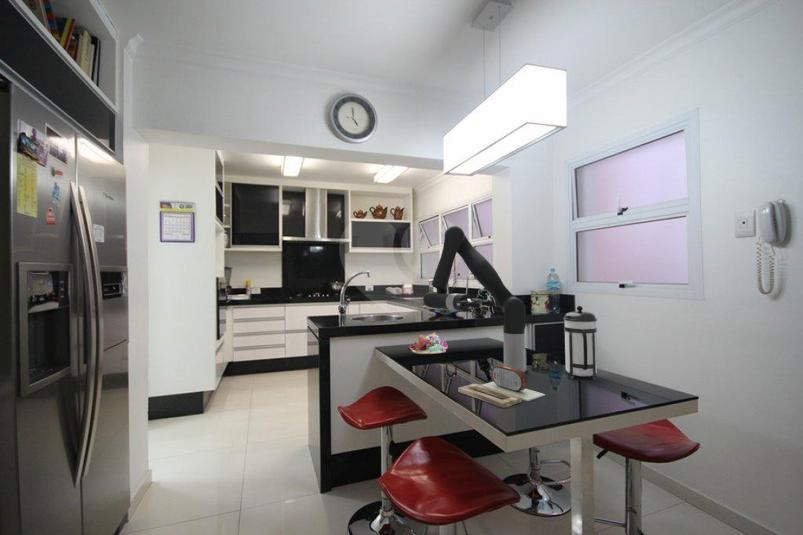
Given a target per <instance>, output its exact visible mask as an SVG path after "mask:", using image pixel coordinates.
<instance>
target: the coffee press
mask: <svg viewBox="0 0 803 535" xmlns="http://www.w3.org/2000/svg"><path fill="white" fill-rule="evenodd" d="M576 310H577V311H569V312H567V313H565V315H564V317H563V321H564V327H563V331H564V346H565V347H564V355H565V357H564V358H565V370H564V371H565V373H566V374H568V376H567V378H568V379H571V380H573V379H574V377H576V376H577V377H590V378H591V379H592V380H593V381H595V382H596V381H599V376H598V375H597V373H598V364H597V363H598V359H597V358H598V355H597V331H598V330H597V329H598V328H597V321H598V318H596V315H595V314H594V313H592V312H588V311H583V307H582V306H581V305H578V306H577V307H576Z"/></svg>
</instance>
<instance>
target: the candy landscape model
mask: <svg viewBox="0 0 803 535" xmlns="http://www.w3.org/2000/svg"><path fill="white" fill-rule="evenodd" d="M417 339H418V340H415V341H414V343H413V344H410V345H409V346H408V348H407V349H408V350H411V352H412V353H414V354H419V355H429V354H430V355H433V354H441V353H442V354H443V353H446V352H447V349H449V346H448V343H447V340H446V339H447V337H444V336H442V337H439V334H437V333H436V332H432V333H431V334H428V335H422V334H419V335H418V336H417Z"/></svg>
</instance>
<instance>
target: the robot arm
mask: <svg viewBox="0 0 803 535" xmlns="http://www.w3.org/2000/svg"><path fill="white" fill-rule="evenodd" d="M457 254H458V255H459V256H460V257H461V259H462V260H463V261H464V264H465V265H466V266H467V269H468V270H469V271H470V273H471V274H472V275H473V276H474V278H475V280H477V281H478V282H479V284H480V285H482V287H483V288H484V289H485V290H486V291H487V292H489V294H491V296H492V297H493V298H494V300H495V301H496V302H497V304H498V306H499V307H500V309H501V311H502V313H503V314H504V316H503V317H504V320H503V321H504V324H503V327H502V328H503V329H502V330H503V333H502V334H503V336H502V337H503V365H506V366H510V367H514V368H518V369H520V370H521V371H522V372H523V373H525V372H526V371H527V349H526V342H525V340H526V338H525V332H526V331H525V329H526V317H527V316H526V314H527V312H526V305H525V303H524V301H522V299H520V298H517V297H516V296H515V295H514V294H513V293H512V292H511V291H510V290H509V289H508V288H507V287H506V285H505V284H504V283H503V281H502V278H501V277H500V275H499V273H498V272H497V271H496V269H495V268H494V267H493V265H492V264H491V263H490V262H489V260H487V258H485V256H483V255H482V254H481V253H480V252H479V251H478V250H477V249H476V248H475V247H474V245H472V243H471V242H470V240H469V239H468V238H467V236H466V234H465V232H464V230H463V228H461V227H460V226H458V225H453V226H450V227H448V228H447V229H446V230H445V232H444V239H443V247H442V251H441V255H440V259H439V261H438V264H437V266H436V269H435V272H434V276H433V279H432V281H431V286H432V287H433V288H434V289H436V292H432V291H430V292H427V293H425V294H424V295H423V297H422V299H423V300H422V301H423V304H424V306H426V307H427V308H431V309H435V310H436V309H437V310H441V309H443V310H448V311H449V310H450V311H453V312H463V313H468V312H469V311H470V310H471V309H480V308H483V307H493V308H494V307H495V306H496V302H495V301H493V300H490V299H482V298H472V297H471V296H470V295H469V294H466V293H447V286H448V284H449V281H450V277H451V273H452V269H453V266H454V261H455V258H456V255H457Z"/></svg>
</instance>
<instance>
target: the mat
mask: <svg viewBox="0 0 803 535" xmlns="http://www.w3.org/2000/svg"><path fill="white" fill-rule="evenodd" d="M481 385H483V386H486V387H489V388H493V389H496V390H499V391H502V392H505V393H508V394H511V395H515V396H518V397H521V398H522V400H523V401H525V402H530V401H534V400H536V399H539V398H542V397H545V396H546V394H545V393H542V392H538V391H535V390H532V389H528V388H525V389H524V390H522V391H519V392H515V391H511V390H508V389H505V388H502V387H499V386H498V385H496V384H495V382H494V381H491V382H487V383H482V384H481Z"/></svg>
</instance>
